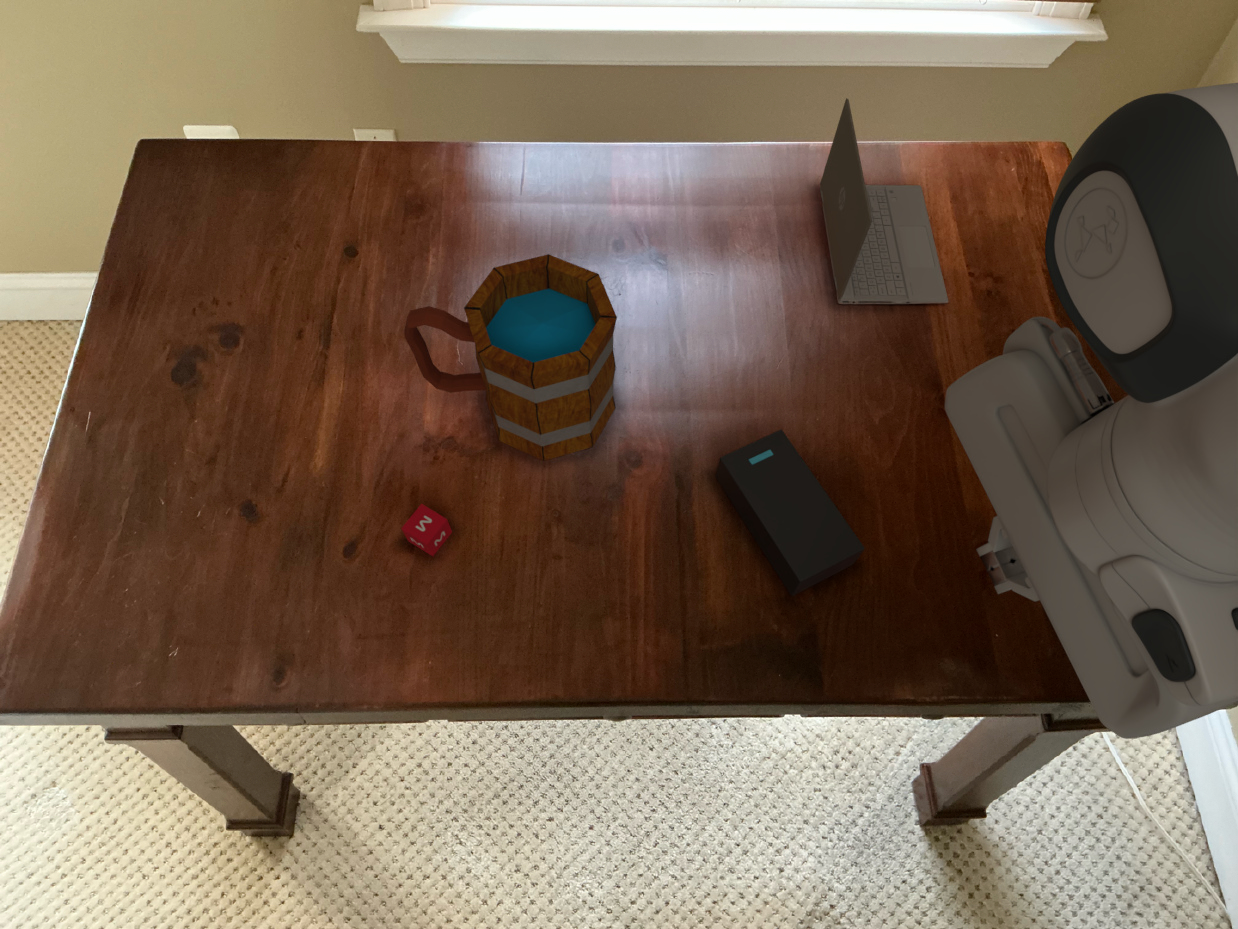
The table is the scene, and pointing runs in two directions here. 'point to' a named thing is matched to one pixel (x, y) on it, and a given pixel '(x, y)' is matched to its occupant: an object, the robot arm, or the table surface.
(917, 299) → the laptop
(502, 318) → the mug
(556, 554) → the table surface
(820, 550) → the black power bank
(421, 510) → the dice
